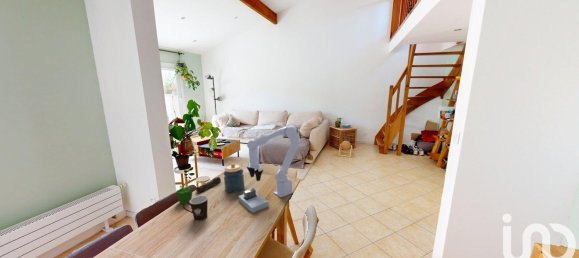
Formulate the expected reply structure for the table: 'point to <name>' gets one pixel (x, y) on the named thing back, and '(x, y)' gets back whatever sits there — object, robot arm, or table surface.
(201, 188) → the hand tool
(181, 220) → the table surface
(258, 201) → the slotted pale blue plate
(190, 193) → the bell pepper
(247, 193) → the tall dark grey prism
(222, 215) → the table surface
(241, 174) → the canister
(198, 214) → the coffee mug
